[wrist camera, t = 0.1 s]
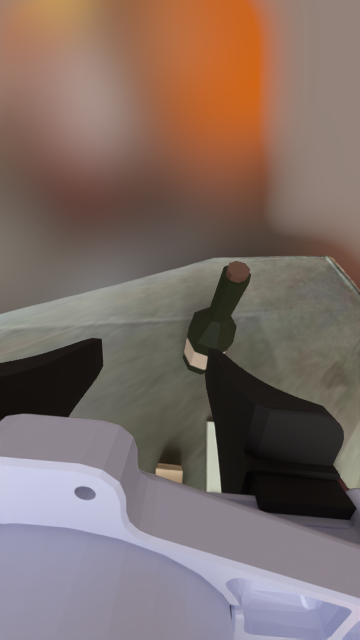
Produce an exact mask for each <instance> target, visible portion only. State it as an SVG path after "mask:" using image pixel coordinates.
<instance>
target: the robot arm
mask: <svg viewBox="0 0 360 640" xmlns="http://www.w3.org/2000/svg"><path fill="white" fill-rule="evenodd" d="M102 367H103V353H102V339H98V338H90V339H86V340H83V341H80V342H77V343H74V344H71V345H68V346H65V347H63V348H59V349H56V350H53V351H50V352H47V353H43V354H40V355H36V356H32V357H28V358H24V359H19V360H14V361H9V362H4V363H0V640H360V489H359V488H354V489H349V490H347V491H346V492H345V491H344V489H343V488H342V486H341V485H340V484H339V482H338V481H337V480H339V479H340V474H339V473H338V471H337V470H336V469H335V467H334V466H333V463H334V461H335V459H336V457H337V455H338V453H339V451H340V449H341V447H342V444H343V440H344V431H343V429H342V427H341V425H340V424H339V423H338V422H337V421H336V419H335V418H334V417H333V416H332V415H331V414H330V413H329V412H328V411H327V410H326V409H325V408H324V407H323V406H321V405H318V404H315V403H312V402H309V401H306V400H303V399H301V398H298V397H295V396H293V395H290V394H288V393H285V392H283V391H281V390H278V389H276V388H274V387H272V386H270V385H268V384H266V383H264V382H263V381H261V380H259V379H257V378H256V377H254V376H252V375H251V374H249V373H248V372H246V371H245V370H244V369H242V368H241V367H239V366H238V365H237V364H236V363H234V362H233V361H232V360H231V359H230V358H228V357H227V356H226V355H225V354H224V353H223V352H222V351H220V350H219V349H214V348H209V351H208V358H207V365H206V372H205V379H206V389H207V393H208V398H209V402H210V407H211V411H212V415H213V420H214V426H215V434H216V443H217V452H218V461H219V472H220V483H221V493H217V492H205V491H202V490H199V489H196V488H193V487H190V486H187V485H184V484H181V483H178V482H175V481H172V480H169V479H166V478H163V477H160V476H158V475H155V474H152V473H149V472H146V471H143V470H140V469H139V468H138V449H137V446H136V443H135V441H134V438H133V436H132V435H131V434H130V433H129V432H127V431H126V430H125V429H124V428H123V427H121V426H120V425H118V424H114V423H111V422H107V421H104V420H93V419H81V418H70V417H69V415H70V413H71V412H72V411H73V409H74V408H75V406H76V405H77V404H78V402H79V401H80V400H81V398H82V397H83V396H84V394H85V393H86V392H87V390H88V389H89V388H90V386H91V385H92V384H93V382H94V381H95V379H96V378H97V376H98V375H99V373H100V371H101V369H102Z"/></svg>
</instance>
